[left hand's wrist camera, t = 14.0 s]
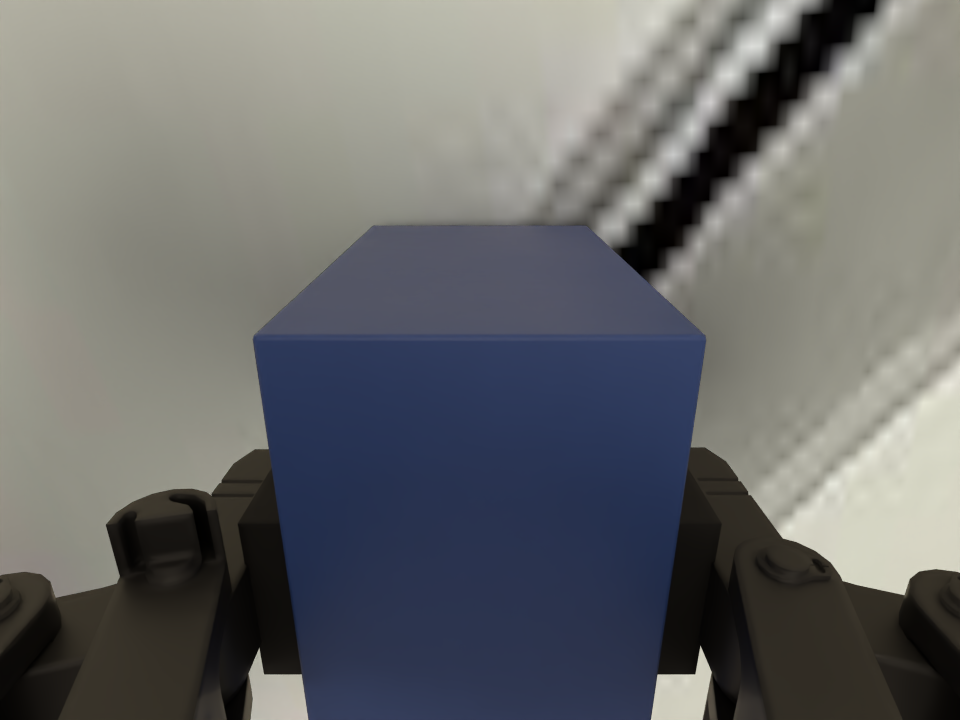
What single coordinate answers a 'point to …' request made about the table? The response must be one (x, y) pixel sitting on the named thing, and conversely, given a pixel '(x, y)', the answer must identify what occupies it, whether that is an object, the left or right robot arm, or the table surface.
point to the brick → (479, 474)
